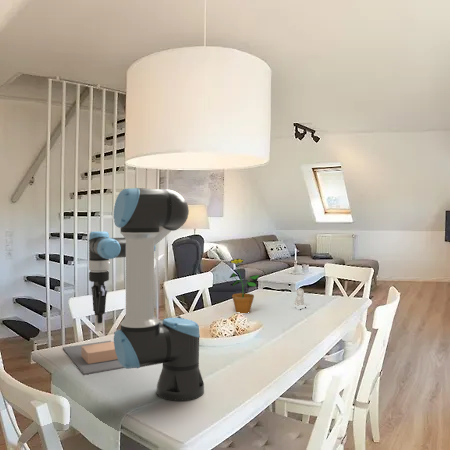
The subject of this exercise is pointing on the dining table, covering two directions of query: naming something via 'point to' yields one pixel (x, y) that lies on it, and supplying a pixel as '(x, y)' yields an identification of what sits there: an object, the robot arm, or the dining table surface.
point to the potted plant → (243, 299)
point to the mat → (86, 368)
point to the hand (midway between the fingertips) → (98, 330)
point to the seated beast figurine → (299, 297)
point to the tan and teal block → (98, 352)
